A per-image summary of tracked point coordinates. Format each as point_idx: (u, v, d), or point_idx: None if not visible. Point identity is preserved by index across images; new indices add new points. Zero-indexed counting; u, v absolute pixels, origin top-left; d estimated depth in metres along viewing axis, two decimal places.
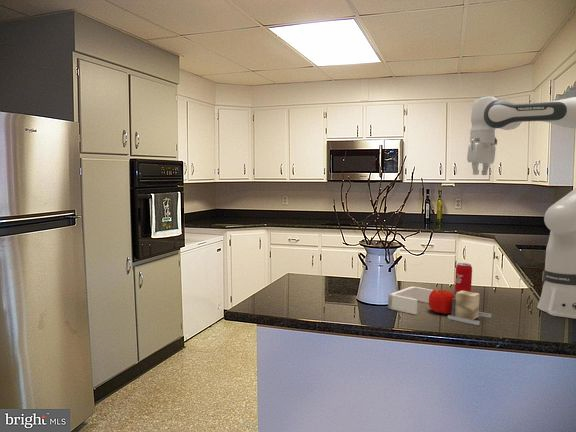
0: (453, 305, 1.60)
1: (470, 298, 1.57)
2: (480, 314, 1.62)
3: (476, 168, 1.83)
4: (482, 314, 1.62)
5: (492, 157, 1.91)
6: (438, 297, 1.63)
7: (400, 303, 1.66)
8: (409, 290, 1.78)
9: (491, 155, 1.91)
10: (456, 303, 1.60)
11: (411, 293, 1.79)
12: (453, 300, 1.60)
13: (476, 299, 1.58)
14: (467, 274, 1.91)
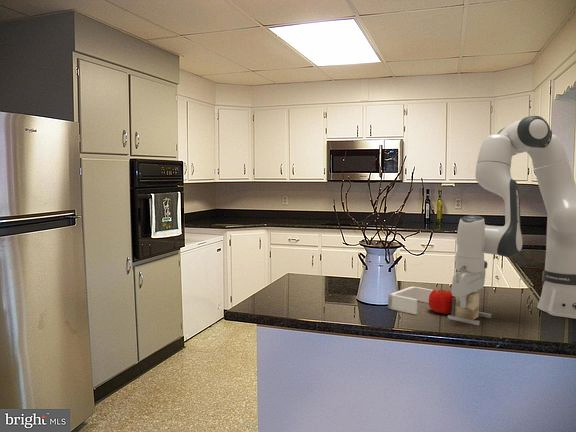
0: (453, 305, 1.60)
1: (470, 298, 1.57)
2: (480, 314, 1.62)
3: (464, 301, 1.56)
4: (482, 314, 1.62)
5: (481, 282, 1.64)
6: (437, 297, 1.63)
7: (400, 303, 1.66)
8: (409, 290, 1.78)
9: (480, 280, 1.63)
10: (456, 303, 1.60)
11: (411, 293, 1.79)
12: (453, 300, 1.60)
13: (476, 299, 1.58)
14: None
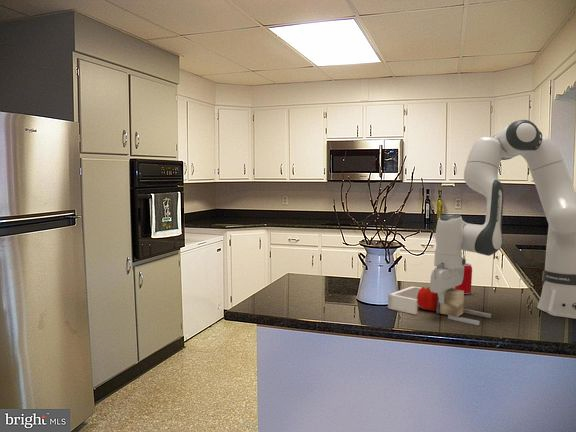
0: (438, 302, 1.63)
1: (454, 295, 1.60)
2: (480, 314, 1.62)
3: (442, 297, 1.61)
4: (482, 314, 1.62)
5: (460, 278, 1.69)
6: (425, 294, 1.66)
7: (400, 303, 1.66)
8: (409, 290, 1.78)
9: (459, 276, 1.68)
10: None
11: (411, 293, 1.79)
12: (438, 297, 1.63)
13: (460, 296, 1.61)
14: (467, 274, 1.91)
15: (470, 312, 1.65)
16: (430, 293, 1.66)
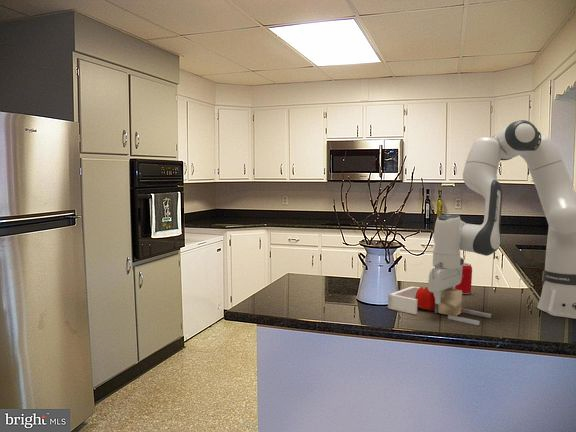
0: None
1: (453, 295, 1.61)
2: (480, 314, 1.62)
3: (438, 297, 1.60)
4: (482, 314, 1.62)
5: (458, 278, 1.69)
6: (423, 294, 1.66)
7: (400, 303, 1.66)
8: (409, 290, 1.78)
9: (457, 276, 1.68)
10: None
11: (411, 293, 1.79)
12: None
13: (458, 296, 1.62)
14: (467, 274, 1.91)
15: (470, 312, 1.65)
16: (428, 293, 1.66)
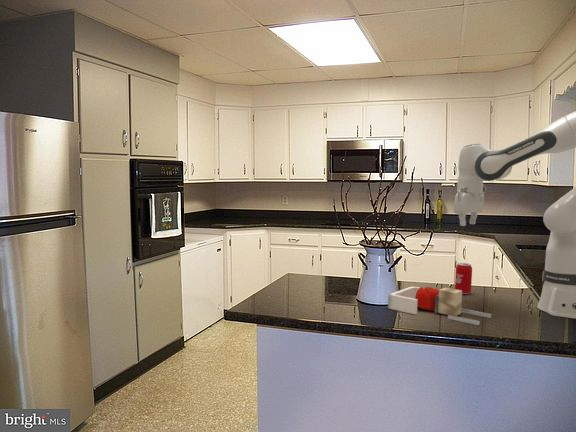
0: (436, 302, 1.64)
1: (453, 295, 1.61)
2: (480, 314, 1.62)
3: (463, 219, 1.75)
4: (482, 314, 1.62)
5: (480, 205, 1.84)
6: (423, 294, 1.66)
7: (400, 303, 1.66)
8: (409, 290, 1.78)
9: (479, 203, 1.83)
10: (439, 300, 1.64)
11: (411, 293, 1.79)
12: (436, 297, 1.63)
13: (458, 296, 1.62)
14: (467, 274, 1.91)
15: (470, 312, 1.65)
16: (428, 293, 1.66)
